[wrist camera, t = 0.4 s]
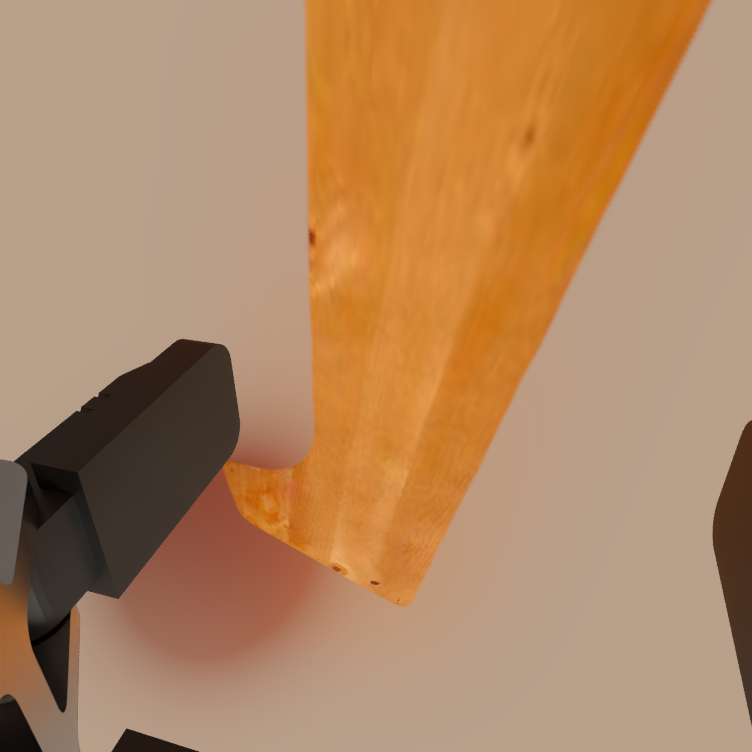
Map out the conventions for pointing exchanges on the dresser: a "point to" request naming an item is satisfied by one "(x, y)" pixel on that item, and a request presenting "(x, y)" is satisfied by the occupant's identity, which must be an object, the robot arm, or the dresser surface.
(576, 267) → the dresser surface
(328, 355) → the dresser surface
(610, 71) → the dresser surface
